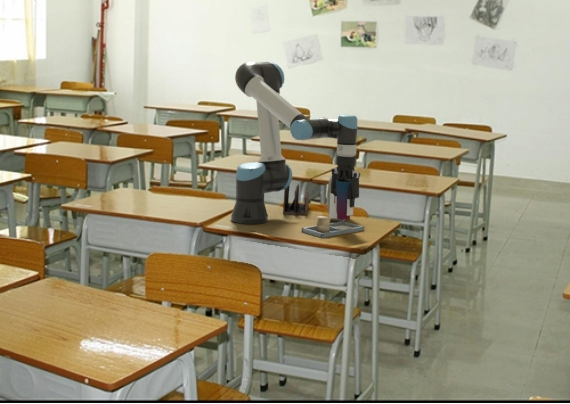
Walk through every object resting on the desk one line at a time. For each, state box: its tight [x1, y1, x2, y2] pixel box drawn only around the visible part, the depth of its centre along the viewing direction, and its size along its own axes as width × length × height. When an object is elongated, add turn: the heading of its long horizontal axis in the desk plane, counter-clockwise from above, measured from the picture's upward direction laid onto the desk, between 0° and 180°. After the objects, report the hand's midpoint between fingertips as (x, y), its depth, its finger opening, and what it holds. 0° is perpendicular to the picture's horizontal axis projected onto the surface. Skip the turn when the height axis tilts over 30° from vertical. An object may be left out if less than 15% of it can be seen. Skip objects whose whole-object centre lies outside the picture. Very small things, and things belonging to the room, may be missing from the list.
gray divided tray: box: [301, 221, 365, 239], centre depth 311 cm, size 12×22×2 cm, turn 131°
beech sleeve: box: [316, 215, 331, 233], centre depth 307 cm, size 5×5×6 cm
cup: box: [336, 180, 352, 221], centre depth 313 cm, size 7×7×15 cm
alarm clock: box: [326, 174, 350, 222], centre depth 334 cm, size 18×8×20 cm, turn 168°
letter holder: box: [282, 183, 310, 216], centre depth 352 cm, size 10×20×14 cm, turn 175°
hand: (343, 213), depth 314 cm, fingers closed on cup, 6 cm apart
